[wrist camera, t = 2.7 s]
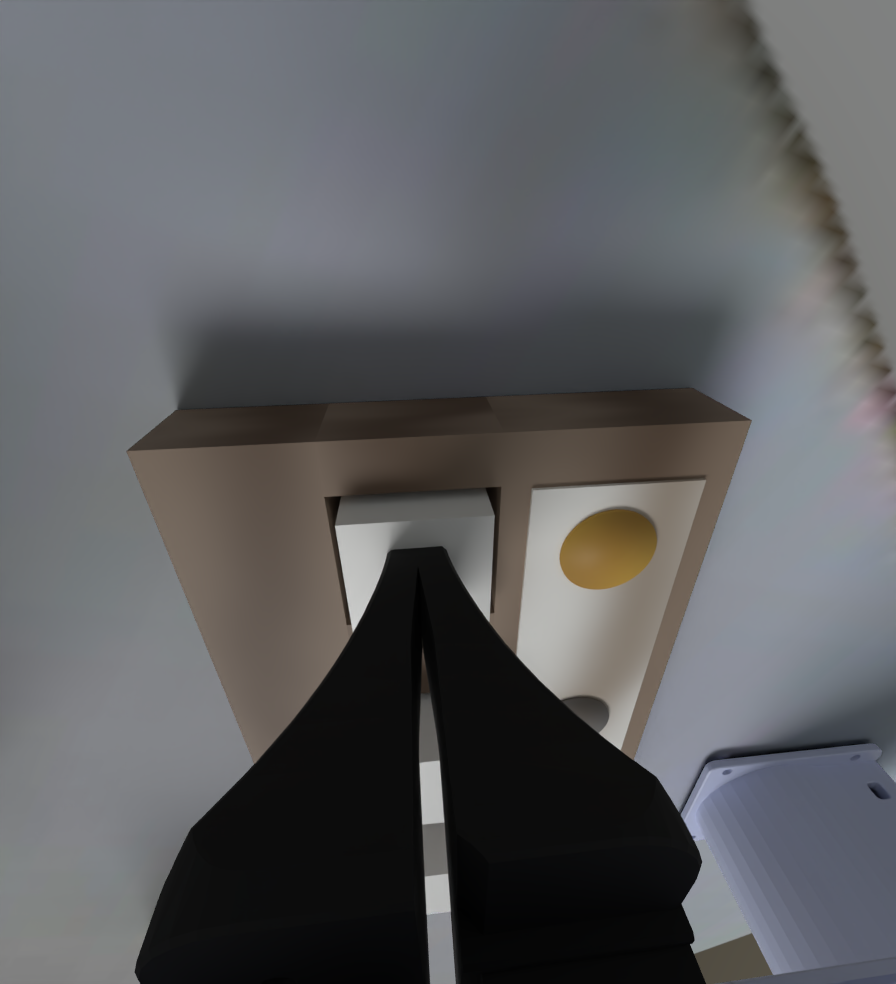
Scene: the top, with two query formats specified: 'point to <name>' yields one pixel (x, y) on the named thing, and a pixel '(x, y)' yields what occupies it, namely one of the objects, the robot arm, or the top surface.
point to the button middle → (429, 765)
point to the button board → (445, 466)
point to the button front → (415, 538)
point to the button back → (436, 869)
